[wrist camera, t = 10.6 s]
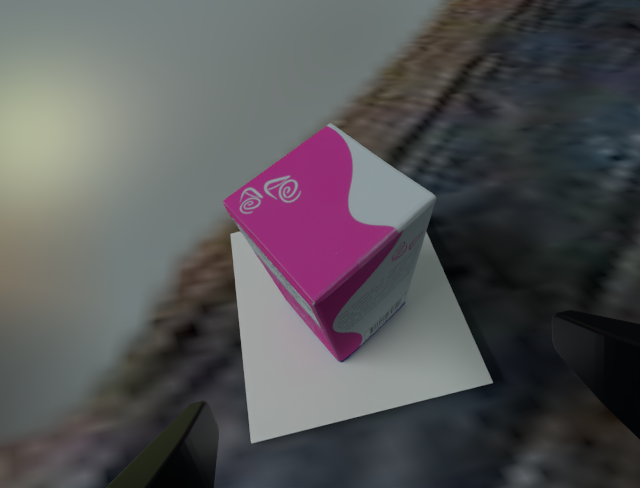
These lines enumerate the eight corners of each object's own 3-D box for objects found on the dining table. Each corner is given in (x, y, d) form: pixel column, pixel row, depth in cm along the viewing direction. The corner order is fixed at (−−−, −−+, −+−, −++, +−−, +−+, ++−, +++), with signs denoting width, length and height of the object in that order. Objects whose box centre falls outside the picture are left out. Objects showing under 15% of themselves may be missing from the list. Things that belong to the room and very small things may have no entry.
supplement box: (344, 244, 24) (333, 115, 14) (407, 303, 21) (450, 199, 11) (281, 297, 22) (216, 197, 12) (340, 367, 20) (319, 313, 10)
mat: (487, 384, 19) (493, 382, 18) (256, 442, 19) (251, 443, 18) (406, 198, 26) (408, 190, 25) (234, 240, 26) (230, 233, 25)
